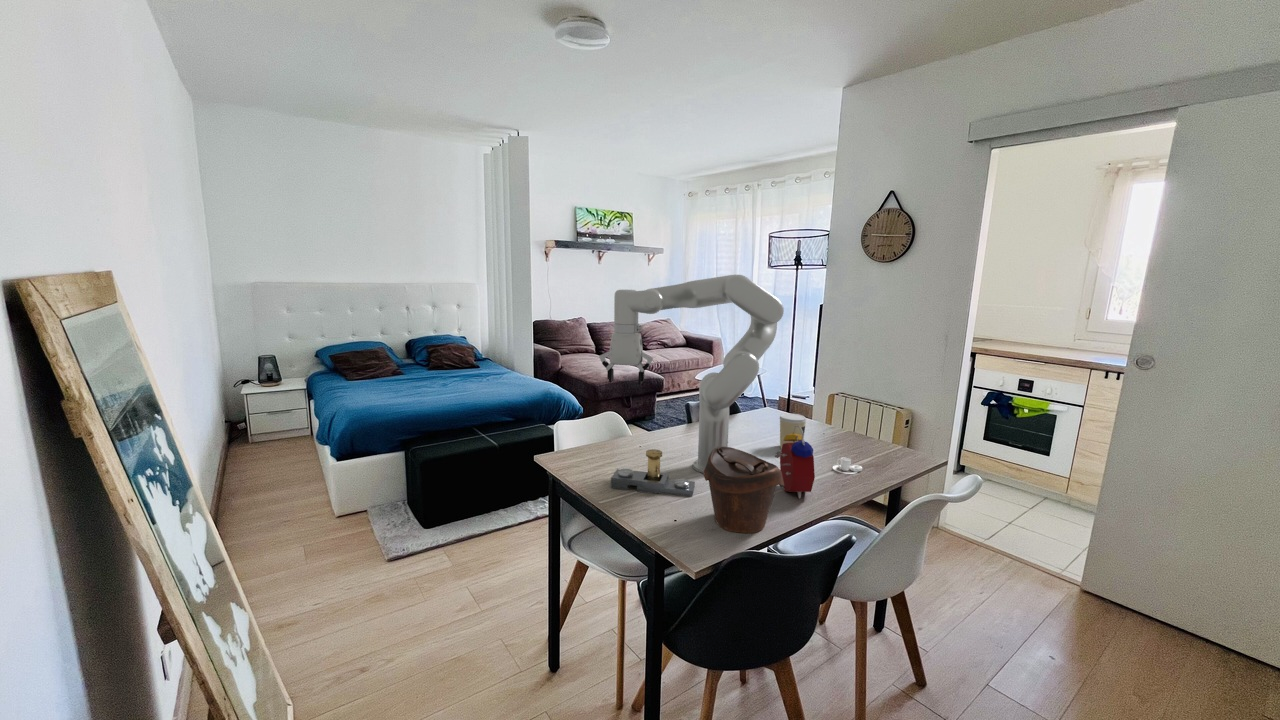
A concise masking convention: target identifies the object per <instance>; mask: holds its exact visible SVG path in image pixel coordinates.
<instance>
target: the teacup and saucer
mask: <svg viewBox="0 0 1280 720" xmlns="http://www.w3.org/2000/svg"><path fill="white" fill-rule="evenodd" d="M838 461H840V464H839V462H838ZM851 462H852V458H850V457H840V458H837V459H836V464H834V465H833V466H832V470H833V471H835V472H837V473H840V474H846V475H856V474H858V472H862V470H863V467H862V466H861V465H857V464H855V465H854V464H853V465H851V464H852V463H851ZM837 468H840V469H841V470H842V471H841V470H838V469H837ZM849 470H850V471H851V472H849Z"/></svg>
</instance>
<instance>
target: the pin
mask: <svg viewBox="0 0 1280 720" xmlns="http://www.w3.org/2000/svg"><path fill="white" fill-rule="evenodd" d="M645 456H646V457H647V472H648V480H652V481H660V473H661V458H662V457H663V451H662V450H660V449H655V448H654V449H652V448H651V449H647V450H646V451H645Z"/></svg>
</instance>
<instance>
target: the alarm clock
mask: <svg viewBox="0 0 1280 720" xmlns="http://www.w3.org/2000/svg"><path fill="white" fill-rule="evenodd" d="M796 427H799V429H800V431H801V433H802V436H801V435H799V434H795V432H796ZM784 441H793V443H785V444H783V445H782V448H781V451H780V450H778V451H776V452H775V455H774V457H775V458H776V459H778V458H779V464H780V465H779V466H780V467H779V470H781V472H782V477H783V482H784V487H783V489H784V491H785V492H792V493H793V492H794V493H797V497H798V499H802V493H811V492H812V489H813V486H814V482H815V477H816V476H815V459H814V458H815V457H814V448H813V447H812V445H811V444H810V443H809V442H808V441H805V439H803V432H802V430H801V428H800V426H795V429H794V431H793V433H792V434H788V435H786V436H785V438H784ZM795 441H798V442H795Z"/></svg>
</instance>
